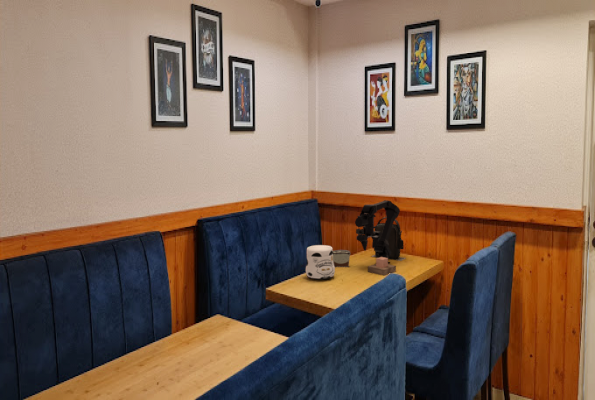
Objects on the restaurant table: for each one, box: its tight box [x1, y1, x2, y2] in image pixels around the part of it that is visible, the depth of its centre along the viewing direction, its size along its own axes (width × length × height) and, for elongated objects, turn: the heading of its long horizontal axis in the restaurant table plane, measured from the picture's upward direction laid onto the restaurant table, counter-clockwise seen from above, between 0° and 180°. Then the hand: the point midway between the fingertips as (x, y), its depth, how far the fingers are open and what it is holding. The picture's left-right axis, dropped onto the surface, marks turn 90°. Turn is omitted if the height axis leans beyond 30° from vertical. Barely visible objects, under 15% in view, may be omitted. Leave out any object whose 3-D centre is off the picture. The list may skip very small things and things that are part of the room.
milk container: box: [305, 244, 336, 281], centre depth 276 cm, size 17×17×18 cm
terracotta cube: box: [375, 257, 389, 268], centre depth 284 cm, size 5×5×5 cm
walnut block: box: [367, 263, 397, 276], centre depth 285 cm, size 12×12×4 cm
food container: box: [333, 249, 352, 268], centre depth 301 cm, size 12×6×10 cm, turn 84°
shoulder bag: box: [371, 216, 407, 262], centre depth 317 cm, size 23×9×28 cm, turn 52°
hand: (369, 249), depth 293 cm, fingers open, 9 cm apart
